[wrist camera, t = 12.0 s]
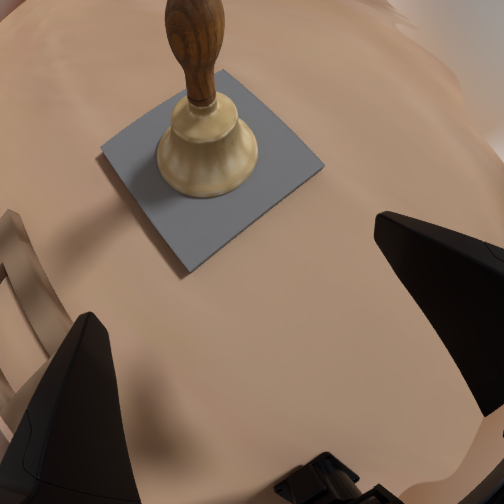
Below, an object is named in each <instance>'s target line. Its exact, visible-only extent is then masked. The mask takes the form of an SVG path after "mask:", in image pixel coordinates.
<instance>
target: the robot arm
mask: <svg viewBox="0 0 504 504" xmlns="http://www.w3.org/2000/svg"><path fill="white" fill-rule="evenodd" d="M374 239H375V242H376V244H377V245H378V247H379V248H380V250H381V251H382V253H383V254H384V256H385V258H386V259H387V261H388V262H389V264H390V265H391V267H392V269H393V270H394V272H395V273H396V275H397V277H398V278H399V279H400V281H401V282H402V284H403V285H404V286H405V288H406V289H407V290H408V292H409V293H410V295H411V296H412V297H413V299H414V300H415V302H416V303H417V304H418V306H419V307H420V309H421V310H422V312H423V313H424V314H425V316H426V317H427V319H428V320H429V322H430V323H431V325H432V326H433V328H434V329H435V331H436V332H437V334H438V336H439V337H440V339H441V340H442V342H443V343H444V345H445V347H446V348H447V350H448V352H449V353H450V355H451V356H452V358H453V360H454V362H455V363H456V365H457V367H458V368H459V370H460V372H461V374H462V376H463V377H464V379H465V381H466V383H467V385H468V387H469V388H470V390H471V392H472V394H473V396H474V398H475V400H476V402H477V404H478V406H479V408H480V410H481V412H482V414H483V416H484V417H486V416H488V415H489V414H491V413H492V412H494V411H495V410H496V409H498V408H499V407H501V406H502V405H503V404H504V249H503V248H500V247H498V246H495V245H492V244H490V243H487V242H483V241H481V240H479V239H476V238H473V237H470V236H467V235H465V234H462V233H459V232H456V231H453V230H450V229H447V228H444V227H441V226H438V225H435V224H431V223H428V222H425V221H422V220H418V219H415V218H412V217H408V216H405V215H401V214H398V213H394V212H391V211H384V212H381V213H379V214H377V216H376V218H375V228H374ZM503 437H504V432H503ZM326 456H328V457H327V458H325V457H326ZM355 478H356V479H355ZM359 479H360V477H359V476H358V475H357V474H356V473H354V472H353V471H352V470H351V469H349V468H348V467H347V466H346V465H344V464H343V463H342V462H341V461H340V460H338V459H337V458H336V457H335V456H334V455H332V454H331V453H330V452H325V453H323V454H322V455H320V456H319V457H318V458H316V459H315V460H313V461H312V462H311V463H309V464H308V465H307V466H305V467H304V468H302V469H301V470H299V471H298V472H296V473H295V474H293V475H292V476H290V477H289V478H287V479H286V480H284V481H283V482H281V483H279V484H278V485H276V486H275V487H274V492H275V493H276V494H278V495H280V496H281V497H283V498H284V499H286V500H288V501H289V502H291V503H293V504H404V503H403V502H402V501H401V500H399V499H398V498H397V497H396V496H395V495H393V494H392V493H391V492H389V491H388V490H387V489H385V488H384V487H383V486H382V485H380V484H377V485H376V486H374V488H373V489H371V490H369V491H368V492H366V493H364V494H362V493H361V491H360V490H359V489H358V488H357V486H356V485H355V483H357V482H358V481H359ZM278 489H280V490H278ZM0 504H142V503H141V500H140V497H139V493H138V490H137V487H136V483H135V479H134V476H133V472H132V468H131V463H130V459H129V455H128V450H127V445H126V440H125V435H124V430H123V424H122V418H121V411H120V404H119V396H118V388H117V380H116V374H115V369H114V364H113V358H112V353H111V347H110V340H109V334H108V332H107V329H106V328H105V327H104V325H103V324H102V323H101V322H100V320H99V319H98V318H97V317H96V315H95V314H94V313H92V312H87V313H83V314H81V315H79V317H78V318H77V320H76V321H75V323H74V324H73V326H72V327H71V329H70V330H69V332H68V334H67V335H66V337H65V339H64V340H63V342H62V343H61V345H60V347H59V348H58V350H57V352H56V353H55V355H54V357H53V359H52V360H51V362H50V364H49V366H48V367H47V369H46V371H45V373H44V375H43V377H42V378H41V380H40V382H39V384H38V386H37V388H36V390H35V392H34V394H33V396H32V398H31V400H30V402H29V404H28V406H27V409H26V410H25V412H24V414H23V417H22V419H21V421H20V423H19V425H18V428H17V430H16V432H15V434H14V436H13V438H12V440H11V442H10V444H9V446H8V448H7V451H6V453H5V455H4V457H3V459H2V461H1V463H0ZM458 504H504V459H503V460H502V461H501V462H500V463H499V464H498V465H497V466H496V468H495V469H494V470H493V471H492V472H491V473H490V474H489V475H488V476H487V477H486V478H485V479H484V480H483V481H482V482H481V483H480V484H479V485H478V486H477V487H476V488H475V489H474V490H473V491H472V492H470V493H469V494H468V495H467V496H466V497H465V498H464V499H463V500H462V501H460V502H459V503H458Z"/></svg>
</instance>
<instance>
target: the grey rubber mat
mask: <svg viewBox="0 0 504 504" xmlns="http://www.w3.org/2000/svg"><path fill="white" fill-rule="evenodd" d="M214 80H215V90H216V92H219V93H222V94H224V95H226V96H227V97H228V98H230V99H231V100H232V102H233V103H234V104H235V106H236V109H237V112H238V118H240V119H241V120H242V121H244V122H245V123H246V124H247V125H248V127H249V128H250V129H251V130H252V132H253V134H254V136H255V138H256V141H257V145H258V158H257V162H256V165H255V168H254V170H253V172H252V173H251V175H250V176H249V177H248V179H247V180H246V181H245V182H244V183H243V184H242V185H240V186H239V187H238V188H236V189H234V190H233V191H231V192H229V193H226V194H223V195H221V196H215V197H211V198H200V197H193V196H189V195H186V194H183V193H181V192H179V191H177V190H175V189H174V188H173V187H171V186H170V185H169V184H168V183H167V182H166V181H165V180H164V178H163V177H162V175H161V173H160V171H159V168H158V164H157V149H158V145H159V142H160V139H161V137H162V136H163V134H164V133H165V131H166V130H167V129H168V127H169V126H170V125H171V122H170V118H171V113H172V110H173V108H174V107H175V105H176V104H177V103H178V102H179V101H180V100H181V99H182V98H183V97H185V96H186V95H187V89H185V90H183V91H181V92H180V93H178V94H176V95H175V96H173V97H171V98H170V99H168V100H166V101H165V102H163V103H162V104H160V105H158V106H157V107H155V108H154V109H152V110H151V111H149V112H148V113H146V114H145V115H143V116H142V117H140V118H139V119H137V120H136V121H134V122H133V123H132V124H130V125H129V126H127V127H126V128H125V129H123V130H122V131H120V132H119V133H118V134H116V135H115V136H114V137H113V138H111V139H110V140H109V141H107V142H106V143H105V144H104V145H102V146H101V147H100V148H101V150H102V151H103V153H104V154H105V156H106V157H107V159H108V160H109V162H110V163H111V165H112V166H113V168H114V169H115V171H116V172H117V174H118V175H119V177H120V178H121V180H122V181H123V182H124V184H125V185H126V187H127V188H128V190H129V191H130V193H131V194H132V195H133V197H134V198H135V200H136V201H137V203H138V204H139V205H140V207H141V208H142V209H143V211H144V212H145V214H146V215H147V216H148V218H149V219H150V221H151V222H152V223H153V225H154V226H155V227H156V229H157V230H158V231H159V233H160V234H161V235H162V237H163V238H164V239H165V241H166V242H167V243H168V245H169V246H170V247H171V249H172V250H173V251H174V252H175V254H176V255H177V256H178V258H179V259H180V260H181V261H182V263H183V264H184V265H185V267H186V268H187V269H188V270H189V272H191V273H192V272H193V271H194V270H196V269H197V268H198V267H199V266H201V265H202V264H203V263H204V262H205V261H207V260H208V259H209V258H210V257H212V256H213V255H214V254H215V253H217V252H218V251H219V250H220V249H221V248H223V247H224V246H225V245H226V244H228V243H229V242H230V241H231V240H233V239H234V238H235V237H236V236H238V235H239V234H240V233H241V232H243V231H244V230H245V229H246V228H248V227H249V226H250V225H251V224H253V223H254V222H255V221H256V220H258V219H259V218H260V217H261V216H263V215H264V214H265V213H267V212H268V211H269V210H270V209H272V208H273V207H274V206H275V205H277V204H278V203H279V202H281V201H282V200H283V199H284V198H286V197H287V196H288V195H290V194H291V193H292V192H293V191H295V190H296V189H297V188H299V187H300V186H301V185H302V184H304V183H305V182H306V181H308V180H309V179H310V178H312V177H313V176H314V175H315V174H317V173H318V172H319V171H321V170H322V169H323V167H324V166H325V165H324V163H323V162H322V161H321V160H320V159H319V158H318V157H317V156H316V155H315V154H314V153H313V152H312V151H311V149H310V148H309V147H308V146H307V145H306V144H305V143H304V142H303V141H302V140H301V139H300V138H299V137H298V136H297V135H296V134H295V133H294V132H293V131H292V130H291V129H290V128H289V127H288V126H287V125H286V124H285V123H284V122H283V121H282V120H281V119H280V118H279V117H278V116H276V115H275V114H274V113H273V112H272V111H271V110H270V109H269V108H268V107H267V106H266V105H265V104H264V103H262V102H261V101H260V100H259V99H258V98H257V97H256V96H255V95H254V94H252V93H251V92H250V91H249V90H248V89H247V88H246V87H244V86H243V85H242V84H241V83H240V82H238V81H237V80H236V79H235V78H234V77H232V76H231V75H230V74H229V73H228V72H226V71H225V70H224V69H223V70H221V71H219V72H217V73H215V74H214Z"/></svg>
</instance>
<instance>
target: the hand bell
mask: <svg viewBox="0 0 504 504" xmlns="http://www.w3.org/2000/svg"><path fill="white" fill-rule="evenodd" d="M165 27H166V33H167V38H168V41H169V45H170V47H171V50H172V52H173V54H174V56H175V58H176V59H177V61H178V62H179V63H180V65H181V66H182V68H183V70H184V73H185V78H186V87H187V95H186V96H185V97H183V98H182V99H181V100H180V101H179V102H178V103H177V104H176V105H175V107H174V108H173V110H172V113H171V118H170V122H171V125H170V126H169V127H168V129H167V130H166V131H165V133H164V134H163V136H162V137H161V139H160V142H159V145H158V149H157V164H158V168H159V171H160V173H161V175H162V177H163V178H164V180H165V181H166V182H167V183H168V184H169V185H170V186H171V187H173V188H174V189H175V190H177V191H179V192H181V193H183V194H186V195H189V196H193V197H200V198H211V197H215V196H221V195H223V194H226V193H229V192H231V191H233V190H234V189H236V188H238V187H239V186H240V185H242V184H243V183H244V182H245V181H246V180H247V179H248V177H249V176H250V175H251V173H252V172H253V170H254V168H255V165H256V162H257V158H258V145H257V141H256V138H255V136H254V134H253V132H252V130H251V129H250V128H249V127H248V125H247V124H246V123H245V122H244V121H242V120H241V119H240V118H238V112H237V109H236V106H235V104H234V103H233V102H232V100H231V99H230V98H228V97H227V96H226V95H224V94H222V93H219V92H216V90H215V80H214V64H215V61H216V59H217V57H218V54H219V52H220V49H221V46H222V42H223V37H224V28H225V16H224V9H223V4H222V1H221V0H167V5H166V10H165Z"/></svg>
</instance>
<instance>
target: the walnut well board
mask: <svg viewBox="0 0 504 504" xmlns="http://www.w3.org/2000/svg"><path fill="white" fill-rule="evenodd" d="M7 274H8V276H9V279H10V281H11V284H12V286H13V288H14V290H15V293H16V295H17V297H18V299H19V301H20V303H21V305H22V307H23V310H24V312H25V313H26V315H27V317H28V319H29V321H30V323H31V325H32V327H33V329H34V330H35V332H36V334H37V336H38V337H39V339H40V341H41V343H42V344H43V346H44V347H45V349H46V351H47V352H48V354H49V356H50V358H49V359H48V360H47V361H46V362H45V363H44V364H43V365H42V366H41V367H40V368H39V370H38V371H37V372H36V373H35V374H34V375H33V376H32V377H31V378H30V379H29V380H28V381H27V382H26V383H25V384H24V385H23V386H22V387H21V389H20V390H19V391H18V392H17V393H16V394H15V393H14V391H13V390H12V388H11V386H10V385H9V383H8V381H7V380H6V378H5V376H4V374H3V373H2V371H1V369H0V416H1V417H2V419H3V420H4V422H5V423H6V424H7V426H8V427H9V429H10V430H11V432H12V433H13V434H15V432H16V430H17V428H18V425H19V423H20V421H21V419H22V417H23V414H24V412H25V410H26V409H27V406H28V404H29V402H30V400H31V398H32V396H33V394H34V392H35V390H36V388H37V386H38V384H39V382H40V380H41V378H42V377H43V375H44V373H45V371H46V369H47V367H48V366H49V364H50V362H51V360H52V359H53V357H54V355H55V353H56V352H57V350H58V348H59V347H60V345H61V343H62V342H63V340H64V339H65V337H66V335H67V334H68V332H69V330H70V329H71V327H72V326H73V324H74V323H73V322H72V320H71V319H70V317H69V315H68V314H67V312H66V310H65V309H64V307H63V305H62V304H61V302H60V300H59V298H58V297H57V295H56V293H55V291H54V289H53V288H52V286H51V284H50V282H49V280H48V278H47V276H46V274H45V272H44V270H43V268H42V266H41V264H40V262H39V260H38V258H37V256H36V254H35V251H34V249H33V247H32V245H31V242H30V240H29V237H28V235H27V233H26V230H25V228H24V225H23V223H22V220H21V217H20V215H19V214H18V213H16V212H14V211H11V210H9V209H7V211H6V212H5V213H4V214H3V216H2V217H1V218H0V283H1V282H2V281H3V279H4V278H5V276H6V275H7Z"/></svg>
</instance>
